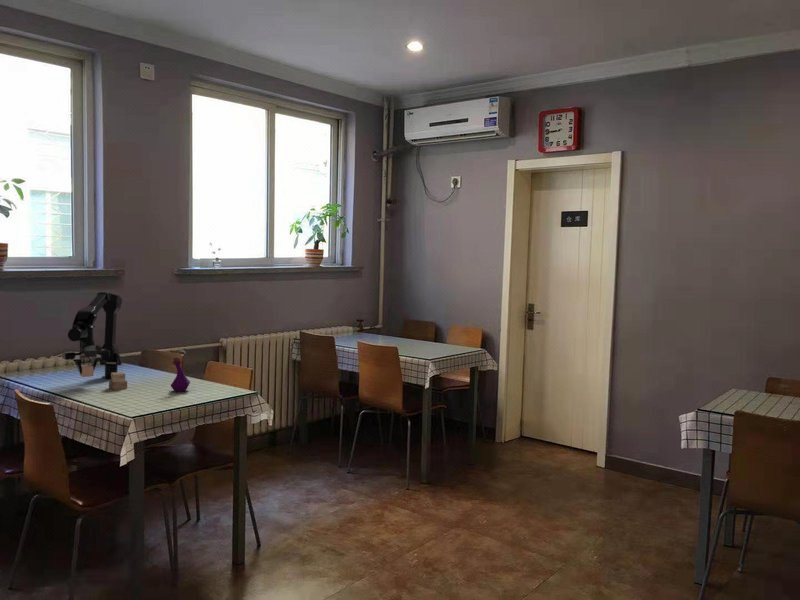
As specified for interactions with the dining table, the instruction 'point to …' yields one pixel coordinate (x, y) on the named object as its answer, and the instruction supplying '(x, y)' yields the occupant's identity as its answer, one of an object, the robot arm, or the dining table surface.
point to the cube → (86, 370)
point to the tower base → (117, 385)
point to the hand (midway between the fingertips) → (86, 373)
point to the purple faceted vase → (179, 377)
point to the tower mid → (118, 377)
